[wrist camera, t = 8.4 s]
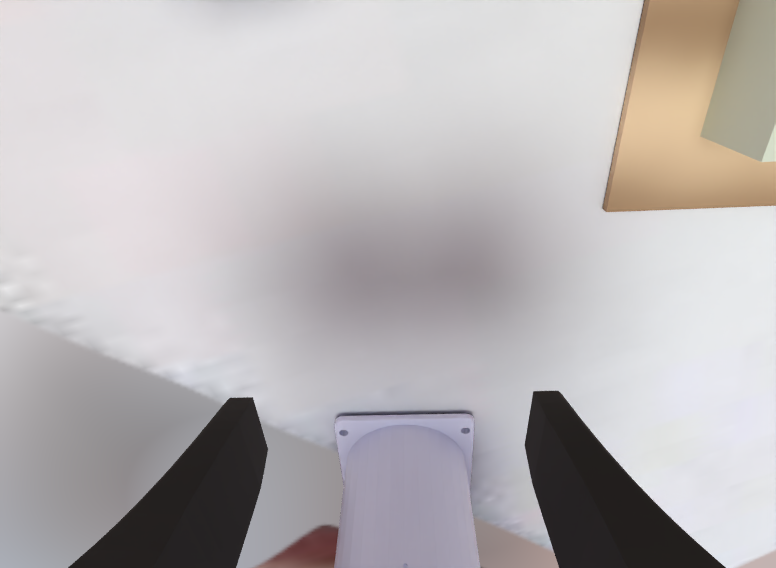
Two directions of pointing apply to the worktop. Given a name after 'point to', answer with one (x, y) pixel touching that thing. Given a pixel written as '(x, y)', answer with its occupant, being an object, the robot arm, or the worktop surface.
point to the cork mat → (680, 118)
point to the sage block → (747, 85)
